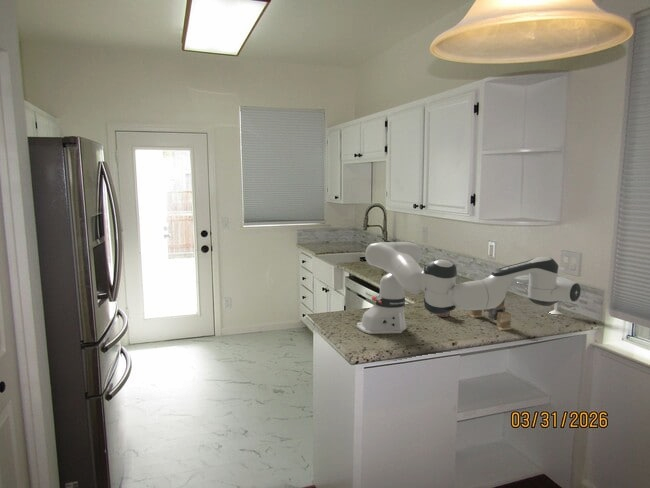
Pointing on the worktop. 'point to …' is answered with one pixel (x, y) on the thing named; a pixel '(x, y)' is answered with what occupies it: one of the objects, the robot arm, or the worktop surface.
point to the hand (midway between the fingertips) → (518, 277)
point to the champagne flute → (562, 274)
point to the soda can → (444, 314)
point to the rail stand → (502, 318)
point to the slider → (493, 311)
